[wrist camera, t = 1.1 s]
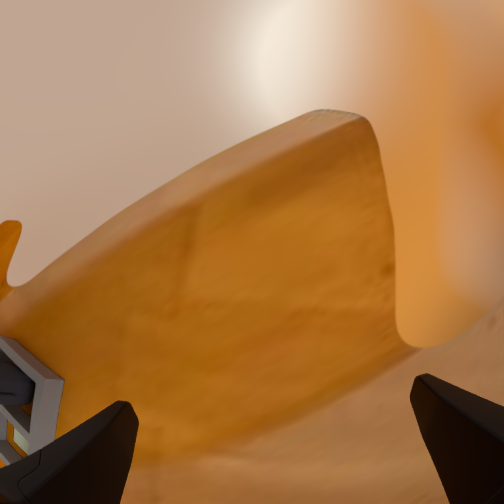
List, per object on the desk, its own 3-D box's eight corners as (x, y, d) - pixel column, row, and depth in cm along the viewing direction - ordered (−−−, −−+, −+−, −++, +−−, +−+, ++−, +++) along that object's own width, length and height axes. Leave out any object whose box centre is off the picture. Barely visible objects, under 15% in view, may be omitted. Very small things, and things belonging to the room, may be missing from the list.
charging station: (50, 490, 15) (35, 495, 12) (0, 439, 17) (-15, 439, 14) (64, 380, 21) (45, 378, 18) (12, 337, 23) (-4, 332, 20)
